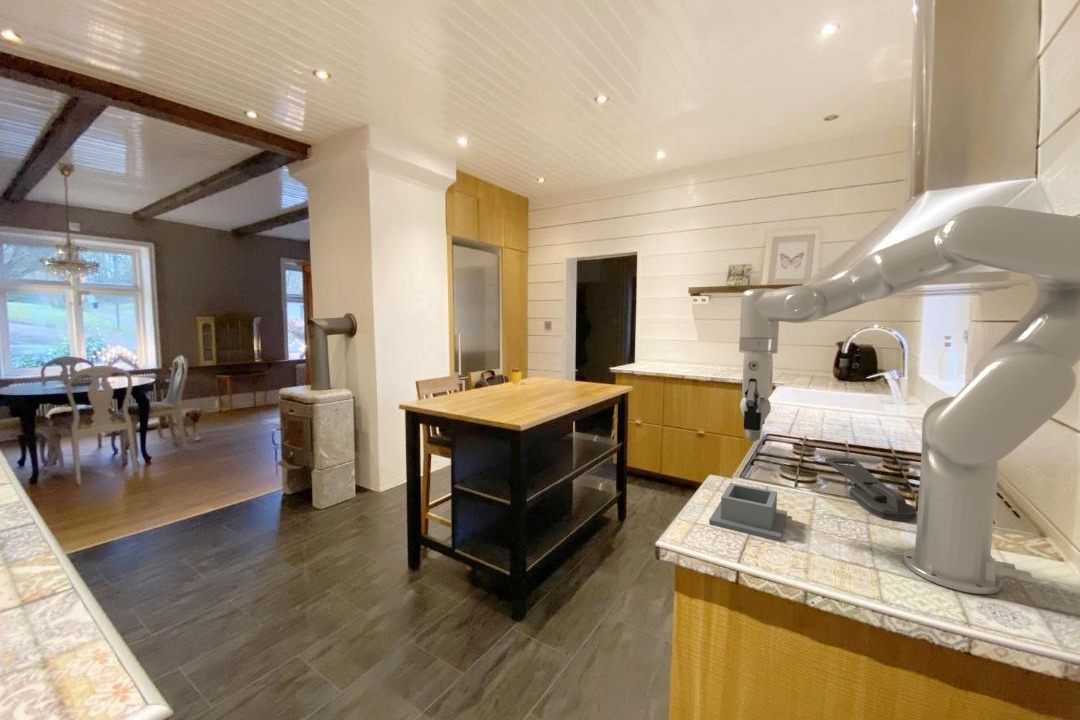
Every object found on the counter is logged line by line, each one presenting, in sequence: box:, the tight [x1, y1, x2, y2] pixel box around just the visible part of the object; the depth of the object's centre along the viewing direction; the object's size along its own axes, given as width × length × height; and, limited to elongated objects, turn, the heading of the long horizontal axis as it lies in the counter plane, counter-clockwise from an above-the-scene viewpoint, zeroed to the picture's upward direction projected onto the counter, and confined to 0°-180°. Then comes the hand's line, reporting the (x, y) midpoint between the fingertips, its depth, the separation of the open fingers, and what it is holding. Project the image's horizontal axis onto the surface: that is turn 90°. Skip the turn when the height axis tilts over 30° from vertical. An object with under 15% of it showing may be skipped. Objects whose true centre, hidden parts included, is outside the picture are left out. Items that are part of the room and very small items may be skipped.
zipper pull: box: [824, 457, 917, 522], centre depth 107 cm, size 9×7×25 cm
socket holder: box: [708, 482, 788, 542], centre depth 97 cm, size 14×14×6 cm
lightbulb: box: [739, 396, 772, 442], centre depth 94 cm, size 6×6×11 cm
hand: (754, 425), depth 95 cm, fingers closed on lightbulb, 5 cm apart
